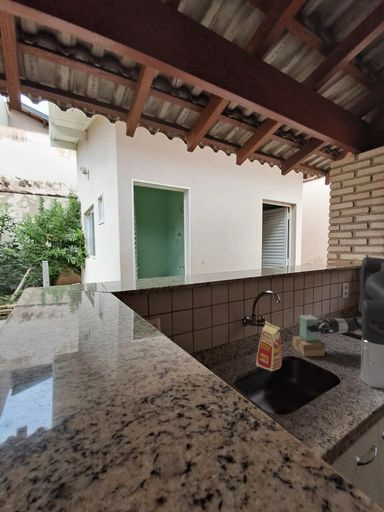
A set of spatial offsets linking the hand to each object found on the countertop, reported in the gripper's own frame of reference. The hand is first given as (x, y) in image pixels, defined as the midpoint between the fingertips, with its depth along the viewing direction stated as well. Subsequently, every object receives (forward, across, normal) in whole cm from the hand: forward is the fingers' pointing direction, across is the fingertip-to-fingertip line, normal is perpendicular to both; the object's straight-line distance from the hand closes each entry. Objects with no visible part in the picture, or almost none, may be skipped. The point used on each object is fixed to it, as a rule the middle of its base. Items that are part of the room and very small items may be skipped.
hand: (305, 326), depth 123 cm
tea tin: (-2, 0, +7) cm, 7 cm away
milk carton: (+24, +12, +13) cm, 30 cm away
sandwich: (-2, 0, +13) cm, 13 cm away
